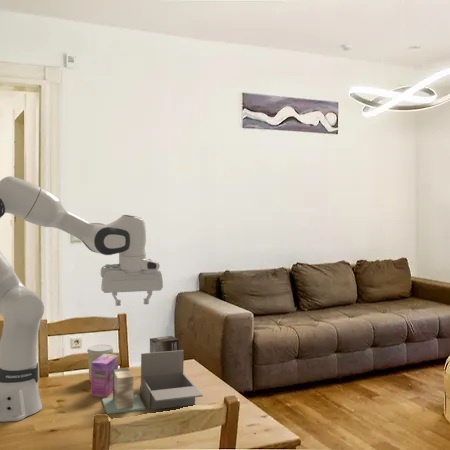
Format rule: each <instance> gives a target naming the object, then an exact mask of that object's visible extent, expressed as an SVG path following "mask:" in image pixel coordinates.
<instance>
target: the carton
mask: <svg viewBox="0 0 450 450" xmlns="http://www.w3.org/2000/svg"><path fill="white" fill-rule="evenodd" d="M184 351H185V350H184V349H181V350H180V349H179V351H167V352H155V353H150V352H146V353H140V395H141V396H142V399H143V400H144V402H145V403H146V406H147V407H148V408H149V411H152V410H159V409H160V410H161V409H165V408H166V409H167V408H175V407H176V408H177V407H185V406H193V405H196V398H202V397H203V394H202V393H201V392H200V390H199V389H198V388H197V386H195V384H194V383H193V382H192V381H191V380H190V379H189V378H188V376H187V375H186V374H185V373H184V361H185V359H184V354H185V353H184Z"/></svg>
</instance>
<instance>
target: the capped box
mask: <svg viewBox="0 0 450 450" xmlns="http://www.w3.org/2000/svg"><path fill="white" fill-rule="evenodd" d="M133 395H134V375H133V374H132V372H131V370H130V369H129V367H127V368H118V369H113V392H112V398H113V400H114V403H115V405H116V407H117V409H123V408H132V407H133Z"/></svg>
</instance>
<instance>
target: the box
mask: <svg viewBox="0 0 450 450" xmlns="http://www.w3.org/2000/svg"><path fill="white" fill-rule="evenodd" d="M113 369H119V355H118V354H114V353H113V354H103V355H102V356H100V357H99V358H97V359H96V360H94V361H93V362H92V365H91V382H90V383H91V385H90V396H91V397H95V398H108V396H109V395H111V394H112V393H113Z"/></svg>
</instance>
